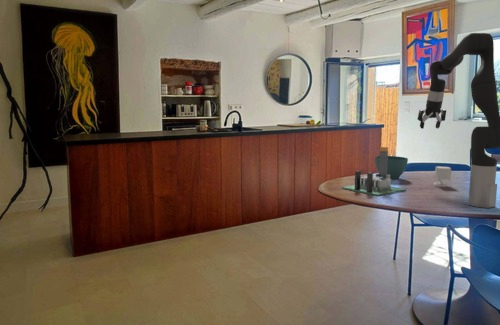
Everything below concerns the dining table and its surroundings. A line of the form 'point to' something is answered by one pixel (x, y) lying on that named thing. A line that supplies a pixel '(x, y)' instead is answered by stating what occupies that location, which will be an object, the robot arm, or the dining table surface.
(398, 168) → the plant pot
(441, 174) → the security camera
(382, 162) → the grey flat bar
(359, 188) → the heatsink board
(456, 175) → the dining table surface
